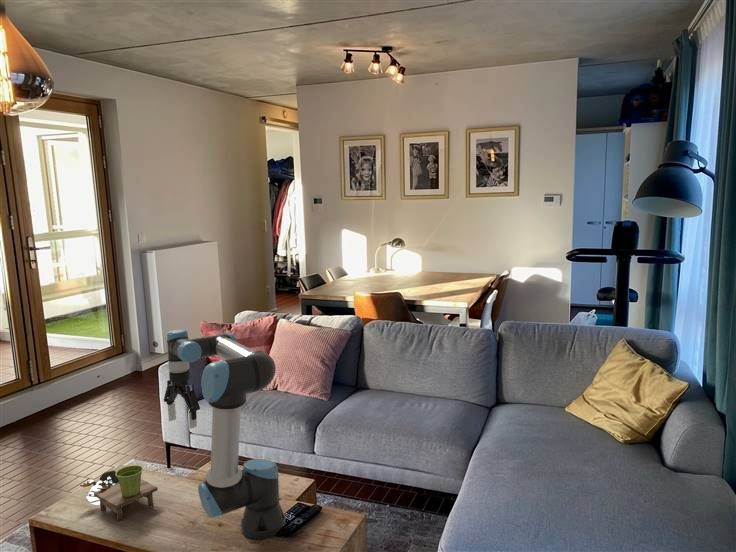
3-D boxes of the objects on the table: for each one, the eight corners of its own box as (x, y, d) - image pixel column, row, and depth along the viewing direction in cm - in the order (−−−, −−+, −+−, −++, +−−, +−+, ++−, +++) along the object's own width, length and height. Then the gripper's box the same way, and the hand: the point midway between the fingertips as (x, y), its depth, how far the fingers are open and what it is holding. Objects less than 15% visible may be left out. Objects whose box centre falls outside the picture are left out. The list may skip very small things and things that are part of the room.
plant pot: (111, 498, 194) (109, 475, 193) (127, 486, 203) (126, 464, 202) (134, 500, 192) (132, 477, 191) (149, 488, 201) (148, 465, 200)
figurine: (136, 471, 216) (106, 485, 198) (133, 495, 215) (103, 511, 198) (106, 467, 219) (73, 480, 201) (103, 490, 218) (70, 505, 201)
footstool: (158, 504, 202) (157, 487, 202) (117, 524, 190) (115, 505, 189) (135, 492, 212) (134, 475, 211) (95, 510, 199) (93, 492, 199)
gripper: (207, 372, 200) (210, 427, 202) (169, 363, 215) (172, 414, 217) (190, 377, 194) (193, 434, 197) (152, 367, 209) (155, 420, 212)
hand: (182, 423), depth 207 cm, fingers open, 13 cm apart
